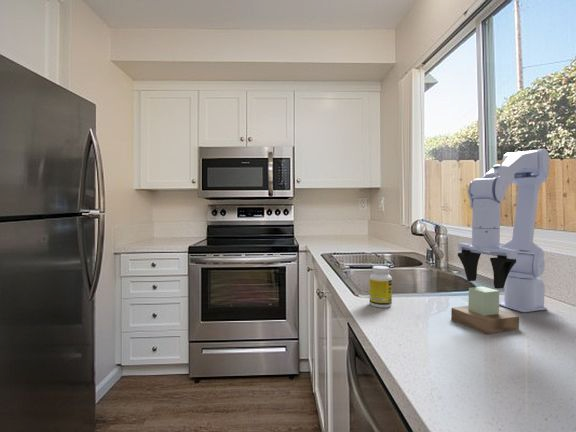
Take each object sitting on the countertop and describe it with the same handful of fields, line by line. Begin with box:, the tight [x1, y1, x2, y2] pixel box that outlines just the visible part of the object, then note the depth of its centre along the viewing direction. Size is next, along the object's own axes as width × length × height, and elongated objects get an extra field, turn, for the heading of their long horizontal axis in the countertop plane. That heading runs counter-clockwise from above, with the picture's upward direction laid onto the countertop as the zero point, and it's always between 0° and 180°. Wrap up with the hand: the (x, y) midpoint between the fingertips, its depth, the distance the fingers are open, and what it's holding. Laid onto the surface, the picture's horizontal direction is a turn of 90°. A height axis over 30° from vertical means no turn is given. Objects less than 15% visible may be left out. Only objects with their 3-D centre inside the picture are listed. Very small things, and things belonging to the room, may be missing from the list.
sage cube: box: [467, 286, 500, 316], centre depth 81 cm, size 4×4×6 cm
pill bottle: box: [369, 265, 393, 309], centre depth 96 cm, size 6×6×11 cm
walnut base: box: [450, 305, 520, 335], centre depth 81 cm, size 10×10×3 cm
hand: (484, 284), depth 80 cm, fingers open, 7 cm apart
